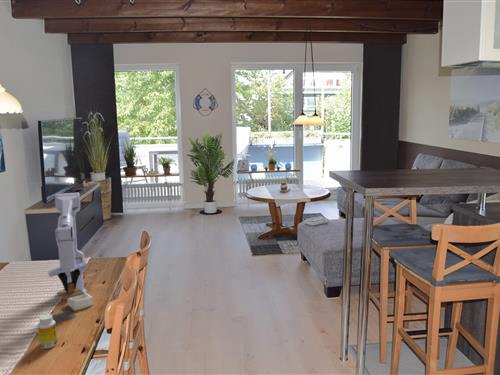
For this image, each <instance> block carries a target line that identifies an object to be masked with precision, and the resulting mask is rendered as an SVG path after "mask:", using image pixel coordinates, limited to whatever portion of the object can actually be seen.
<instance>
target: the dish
mask: <svg viewBox="0 0 500 375" xmlns="http://www.w3.org/2000/svg"><path fill="white" fill-rule="evenodd" d="M66 301H67V306H68V307H69V308H70V309H72V311H74V312H76V311H79V310H82V309H87V308H89V307H92V306H94V302H93V296H92V295H90V294H89V293H87V292H84V294H82V295H79V296H75V297H72V298H68V299H66Z"/></svg>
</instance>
